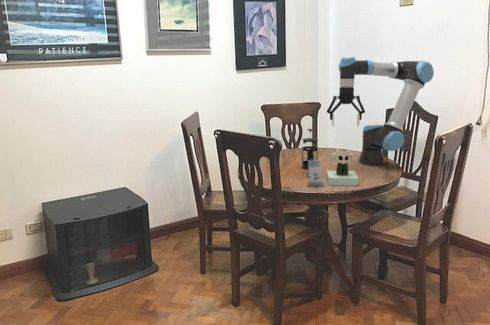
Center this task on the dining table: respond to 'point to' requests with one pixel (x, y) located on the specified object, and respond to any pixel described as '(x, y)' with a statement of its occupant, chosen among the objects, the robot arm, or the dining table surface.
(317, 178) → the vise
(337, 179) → the stand
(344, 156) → the character mug
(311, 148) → the french press
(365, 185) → the dining table surface
